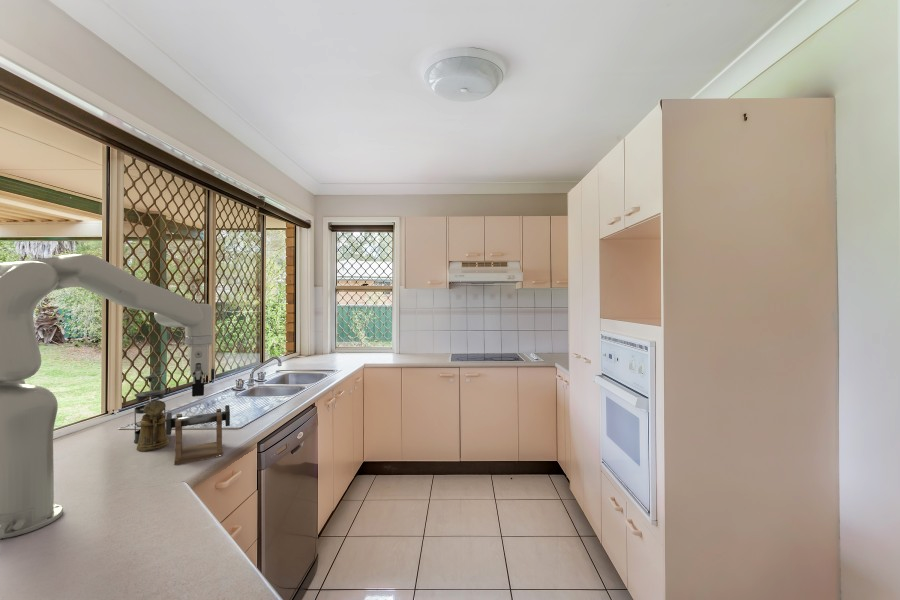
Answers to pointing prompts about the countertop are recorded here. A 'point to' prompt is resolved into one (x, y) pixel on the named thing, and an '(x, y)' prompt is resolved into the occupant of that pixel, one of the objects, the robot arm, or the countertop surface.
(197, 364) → the robot arm
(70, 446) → the countertop surface
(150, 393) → the french press
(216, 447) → the hanging rack
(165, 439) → the brown carved statue
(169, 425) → the hanging bar
